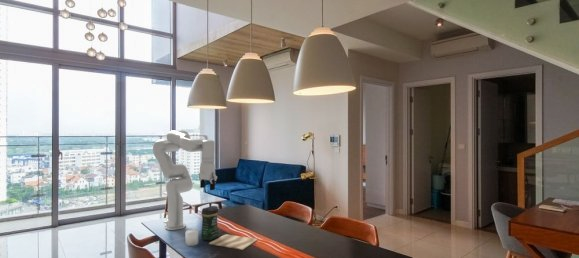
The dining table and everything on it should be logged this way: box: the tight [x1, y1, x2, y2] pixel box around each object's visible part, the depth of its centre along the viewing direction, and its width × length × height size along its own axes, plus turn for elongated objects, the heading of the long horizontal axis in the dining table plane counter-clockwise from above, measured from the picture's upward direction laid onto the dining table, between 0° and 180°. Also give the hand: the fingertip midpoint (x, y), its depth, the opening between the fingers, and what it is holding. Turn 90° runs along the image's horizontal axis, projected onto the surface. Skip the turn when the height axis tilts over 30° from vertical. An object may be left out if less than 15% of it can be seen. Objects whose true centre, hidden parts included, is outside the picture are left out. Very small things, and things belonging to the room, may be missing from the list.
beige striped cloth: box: [208, 233, 258, 251], centre depth 175 cm, size 22×16×1 cm
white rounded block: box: [184, 228, 199, 247], centre depth 173 cm, size 7×7×7 cm
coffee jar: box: [200, 205, 219, 241], centre depth 182 cm, size 10×8×19 cm
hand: (207, 188), depth 186 cm, fingers open, 9 cm apart
